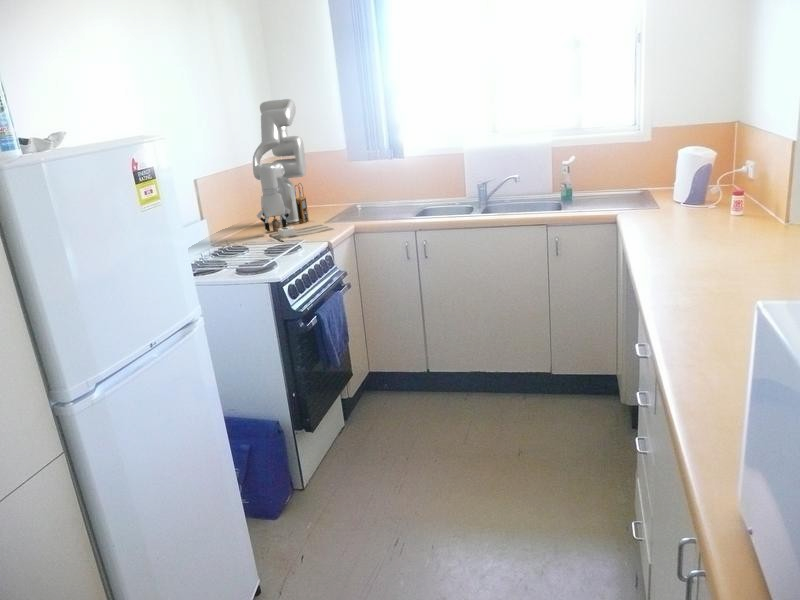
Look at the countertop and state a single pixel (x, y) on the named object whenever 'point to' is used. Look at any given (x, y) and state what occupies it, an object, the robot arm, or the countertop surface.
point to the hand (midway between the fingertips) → (276, 229)
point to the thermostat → (286, 231)
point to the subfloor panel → (302, 232)
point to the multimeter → (302, 208)
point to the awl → (275, 224)
